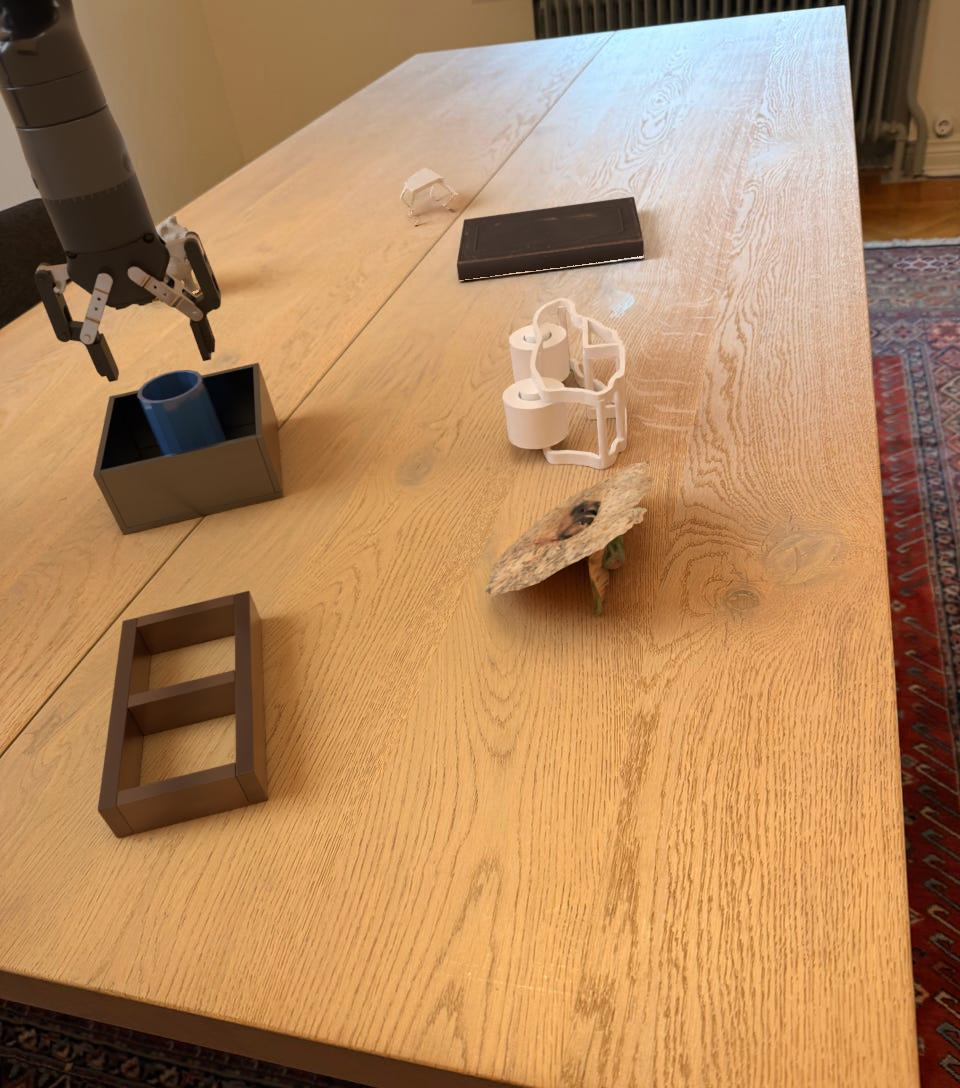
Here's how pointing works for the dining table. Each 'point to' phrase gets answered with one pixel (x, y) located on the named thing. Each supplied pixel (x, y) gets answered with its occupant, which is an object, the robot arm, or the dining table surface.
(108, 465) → the open box
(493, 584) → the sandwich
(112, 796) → the rack
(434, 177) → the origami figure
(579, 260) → the hardcover book
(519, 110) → the dining table surface
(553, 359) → the toilet paper holder
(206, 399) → the cup
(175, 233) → the dog figurine
